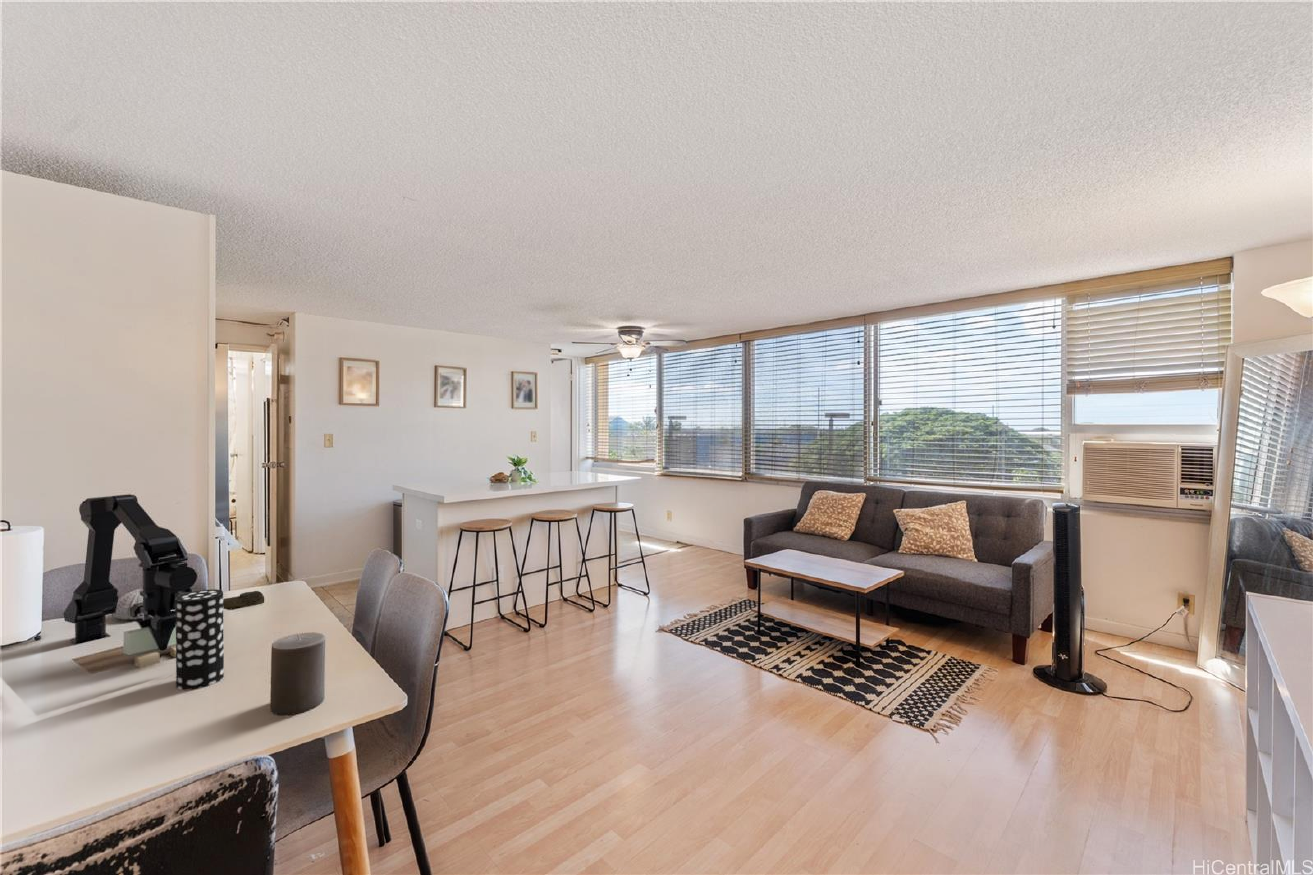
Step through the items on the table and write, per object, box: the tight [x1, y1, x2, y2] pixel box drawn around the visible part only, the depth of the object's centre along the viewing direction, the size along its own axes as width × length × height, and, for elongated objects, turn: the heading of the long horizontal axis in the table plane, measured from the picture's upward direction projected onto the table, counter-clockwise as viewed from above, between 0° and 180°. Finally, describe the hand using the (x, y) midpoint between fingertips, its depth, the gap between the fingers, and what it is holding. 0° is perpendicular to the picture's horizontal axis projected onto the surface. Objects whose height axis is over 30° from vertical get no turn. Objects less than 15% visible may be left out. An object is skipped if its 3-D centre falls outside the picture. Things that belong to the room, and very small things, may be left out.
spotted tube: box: [175, 588, 225, 691], centre depth 123 cm, size 8×8×20 cm
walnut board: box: [72, 645, 170, 675], centre depth 137 cm, size 14×24×2 cm, turn 149°
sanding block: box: [122, 627, 176, 657], centre depth 134 cm, size 4×12×6 cm, turn 149°
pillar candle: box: [269, 631, 326, 716], centre depth 115 cm, size 10×10×15 cm
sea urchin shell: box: [111, 587, 143, 621], centre depth 164 cm, size 13×14×8 cm
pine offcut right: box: [169, 646, 176, 659], centre depth 134 cm, size 4×4×4 cm
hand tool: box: [223, 590, 265, 610], centre depth 169 cm, size 19×4×5 cm, turn 129°
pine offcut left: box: [134, 651, 161, 669], centre depth 129 cm, size 4×4×4 cm
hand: (159, 648), depth 134 cm, fingers closed on sanding block, 4 cm apart
